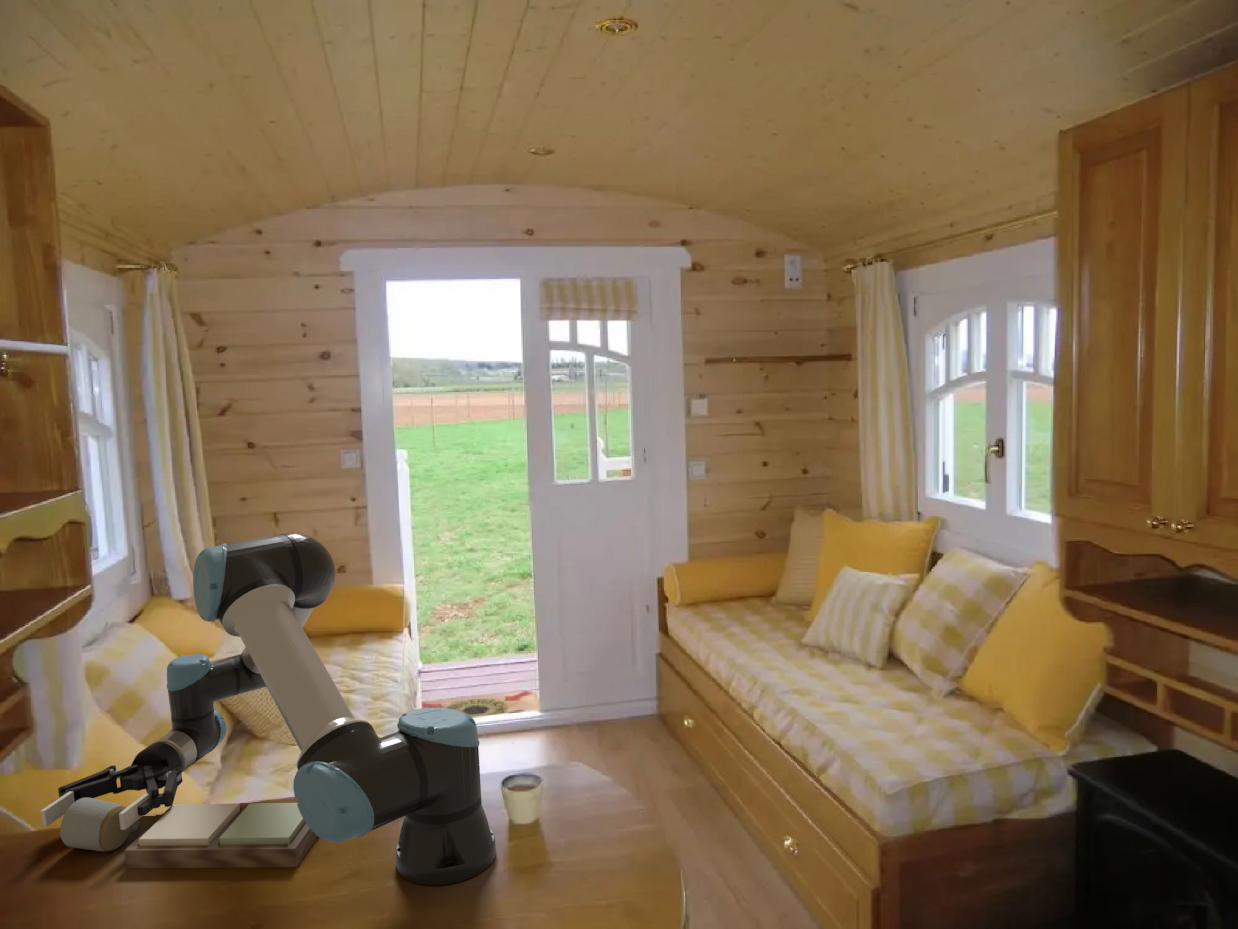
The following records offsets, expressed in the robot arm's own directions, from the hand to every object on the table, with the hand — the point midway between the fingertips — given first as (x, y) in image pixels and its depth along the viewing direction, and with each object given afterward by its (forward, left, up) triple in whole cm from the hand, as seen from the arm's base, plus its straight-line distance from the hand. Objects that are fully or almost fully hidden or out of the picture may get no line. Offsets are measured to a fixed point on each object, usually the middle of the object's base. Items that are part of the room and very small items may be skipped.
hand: (82, 820), depth 149 cm
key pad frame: (-18, -13, -6) cm, 23 cm away
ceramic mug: (+1, -4, -6) cm, 8 cm away
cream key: (-13, -10, -5) cm, 17 cm away
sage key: (-24, -16, -5) cm, 29 cm away
